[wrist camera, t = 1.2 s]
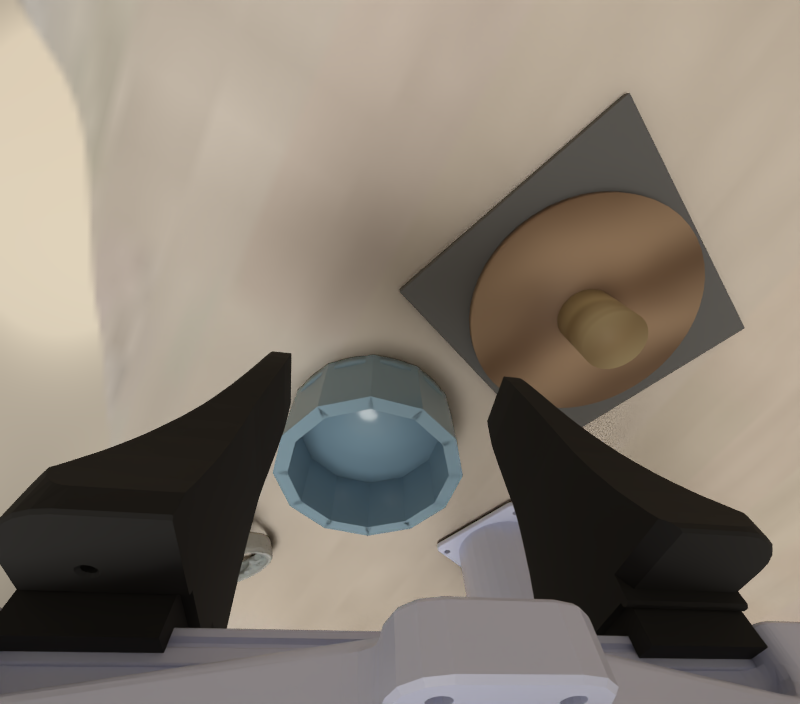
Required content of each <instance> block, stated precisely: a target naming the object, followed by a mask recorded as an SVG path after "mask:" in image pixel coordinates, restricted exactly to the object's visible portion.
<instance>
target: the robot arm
mask: <svg viewBox="0 0 800 704" xmlns="http://www.w3.org/2000/svg"><path fill="white" fill-rule="evenodd" d="M290 403H291V353H282V352H273V351H272V352H271V353H269V354H268V355H267V356H266V357H264V358H263V359H262V360H261V361H260V362H259V363H258V364H256V365H255V366H254V367H253V368H252V369H250V370H249V371H248V372H247V373H246V374H244V375H243V376H242V377H241V378H239V379H238V380H237V381H235V382H234V383H233V384H232V385H230V386H229V387H228V388H226V389H225V390H223V391H222V392H220V393H219V394H218V395H216V396H215V397H213V398H212V399H210V400H209V401H207V402H206V403H204V404H203V405H201V406H199V407H198V408H196V409H194V410H192V411H190V412H189V413H187V414H185V415H183V416H181V417H180V418H178V419H176V420H173V421H171V422H169V423H167V424H165V425H163V426H161V427H159V428H157V429H155V430H153V431H151V432H148V433H146V434H144V435H141V436H139V437H137V438H134V439H132V440H129V441H127V442H124V443H122V444H119V445H116V446H114V447H111V448H108V449H105V450H103V451H100V452H97V453H94V454H91V455H88V456H84V457H81V458H79V459H75V460H72V461H69V462H66V463H62V464H59V465H56V466H52V467H49V468H48V469H47V470H46V471H44V473H42V474H41V475H40V476H39V477H38V478H37V480H35V481H34V482H33V483H32V484H31V485H30V486H29V487H28V488H27V490H26V491H25V492H24V493H23V494H22V495H21V496H20V497H19V498H18V499H17V500H16V501H15V502H14V503H13V504H12V506H11V507H10V508H9V509H8V510H7V511H6V512H5V513H4V514H3V515H2V516H1V517H0V565H1V566H2V568H3V569H4V571H5V572H6V574H7V575H8V577H9V578H10V580H11V581H12V583H13V584H14V586H15V587H16V589H17V590H16V591H15V593H14V594H13V595H12V597H11V598H10V599H9V600H8V602H7V603H6V604H5V605H4V607H3V608H0V704H800V622H779V621H766V622H759V623H756V624H753V625H751V623H750V622H749V621H748V619H747V618H746V617H745V615H744V614H743V613H742V611H745V610H747V609H748V604H747V603H746V601H745V600H744V599H743V598H742V596H741V595H740V594H739V592H738V591H739V590H740V589H741V588H742V587H743V586H744V585H746V584H747V583H748V582H749V581H750V580H751V579H752V578H753V577H755V576H756V575H757V574H758V573H759V572H760V571H761V570H762V569H763V568H764V567H765V566H766V565H767V564H768V562H769V560H770V558H771V556H772V543H771V542H770V541H769V539H768V538H767V537H766V536H765V535H764V534H763V533H762V531H761V530H760V529H759V528H758V527H757V526H756V525H755V524H754V523H753V522H752V521H751V520H750V519H749V518H748V516H746V515H745V514H744V513H742V512H740V511H737V510H735V509H732V508H730V507H728V506H725V505H723V504H720V503H718V502H715V501H713V500H711V499H708V498H706V497H703V496H701V495H699V494H696V493H694V492H692V491H690V490H688V489H686V488H684V487H682V486H679V485H677V484H675V483H673V482H671V481H669V480H667V479H665V478H663V477H661V476H659V475H657V474H655V473H653V472H652V471H650V470H648V469H646V468H644V467H643V466H641V465H639V464H637V463H635V462H634V461H632V460H630V459H629V458H627V457H625V456H624V455H622V454H620V453H619V452H617V451H616V450H614V449H613V448H611V447H609V446H608V445H606V444H605V443H603V442H602V441H600V440H599V439H597V438H596V437H595V436H593V435H592V434H590V433H589V432H588V431H586V430H585V429H584V428H582V427H581V426H580V425H578V424H577V423H576V422H574V421H573V420H572V419H571V418H569V417H568V416H567V415H566V414H564V413H563V412H562V411H561V410H559V409H558V408H557V407H556V406H555V405H553V404H552V403H551V402H550V401H549V400H547V399H546V398H545V397H544V396H543V395H541V394H540V393H539V392H538V391H537V390H535V389H534V388H533V387H532V386H530V385H529V384H528V383H527V382H525V381H524V380H522V379H521V378H515V377H505V376H504V377H503V379H502V382H501V385H500V388H499V391H498V393H497V396H496V399H495V402H494V404H493V407H492V410H491V413H490V415H489V418H488V421H487V422H488V428H489V433H490V438H491V443H492V447H493V450H494V453H495V456H496V459H497V462H498V465H499V468H500V470H501V473H502V476H503V479H504V481H505V484H506V487H507V490H508V492H509V495H510V498H511V501H512V502H509V503H507V504H505V505H503V506H502V507H500V508H498V509H497V510H495V511H493V512H491V513H490V514H488V515H486V516H484V517H483V518H481V519H479V520H478V521H476V522H474V523H472V524H471V525H469V526H467V527H465V528H464V529H462V530H460V531H459V532H457V533H455V534H453V535H452V536H450V537H448V538H446V539H445V540H443V541H441V542H440V543H438V545H437V547H438V551H439V552H441V553H442V554H444V555H445V556H446V557H448V558H449V559H451V560H452V561H453V562H455V563H456V564H458V565H459V566H460V567H461V568H462V573H463V579H464V584H465V590H466V595H467V597H452V596H440V597H431V598H422V599H417V600H414V601H412V602H410V603H407V604H405V605H402V606H400V607H398V608H397V609H396V610H395V611H394V612H393V613H392V615H391V616H390V617H389V618H388V619H387V621H386V622H385V623H384V624H383V627H382V630H381V631H328V630H275V629H227V625H228V620H229V616H230V611H231V607H232V602H233V598H234V594H235V590H236V586H237V581H238V577H239V573H240V569H241V565H242V561H243V557H244V553H245V549H246V545H247V541H248V537H249V533H250V529H251V525H252V522H253V518H254V514H255V510H256V506H257V503H258V499H259V496H260V493H261V490H262V487H263V485H264V482H265V479H266V477H267V474H268V472H269V469H270V466H271V464H272V461H273V458H274V456H275V453H276V451H277V448H278V445H279V443H280V440H281V437H282V435H283V432H284V429H285V425H286V421H287V417H288V412H289V408H290Z"/></svg>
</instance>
